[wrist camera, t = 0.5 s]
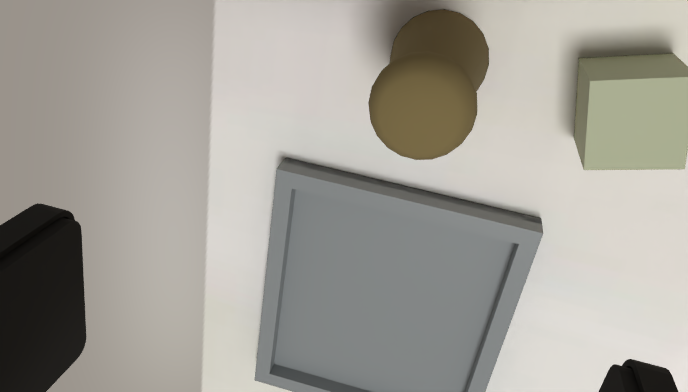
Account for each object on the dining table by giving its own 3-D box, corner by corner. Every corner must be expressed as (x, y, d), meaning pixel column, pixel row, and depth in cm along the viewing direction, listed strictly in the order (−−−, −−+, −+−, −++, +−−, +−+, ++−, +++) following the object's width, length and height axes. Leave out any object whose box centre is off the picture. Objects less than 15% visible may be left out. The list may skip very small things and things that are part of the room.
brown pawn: (376, 84, 38) (336, 148, 29) (412, -7, 35) (381, 30, 26) (463, 121, 38) (451, 197, 29) (506, 32, 35) (510, 84, 26)
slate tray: (285, 157, 42) (276, 169, 41) (541, 218, 40) (543, 233, 38) (262, 363, 52) (254, 380, 50) (467, 422, 50) (466, 442, 48)
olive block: (578, 57, 35) (590, 81, 31) (672, 52, 34) (698, 76, 29) (573, 137, 37) (583, 170, 33) (662, 135, 36) (684, 169, 32)
